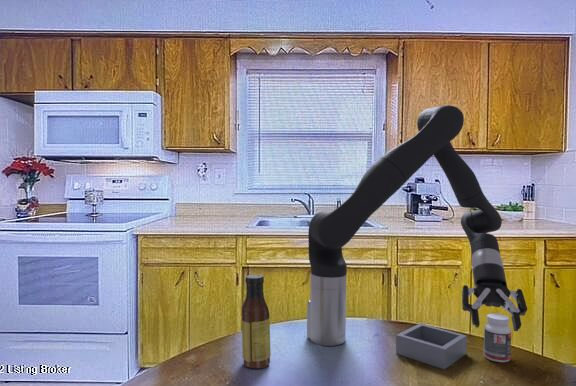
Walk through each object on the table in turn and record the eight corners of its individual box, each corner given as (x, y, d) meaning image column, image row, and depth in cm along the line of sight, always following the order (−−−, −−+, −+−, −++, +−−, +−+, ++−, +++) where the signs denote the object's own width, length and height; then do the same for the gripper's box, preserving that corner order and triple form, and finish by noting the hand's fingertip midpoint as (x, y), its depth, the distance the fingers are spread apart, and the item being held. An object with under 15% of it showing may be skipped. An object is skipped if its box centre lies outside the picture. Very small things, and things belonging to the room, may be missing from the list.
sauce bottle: (274, 360, 98) (275, 274, 97) (264, 372, 92) (265, 280, 91) (248, 356, 100) (249, 271, 99) (236, 367, 94) (237, 277, 93)
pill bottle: (513, 364, 97) (515, 321, 97) (487, 362, 98) (488, 319, 98) (506, 354, 103) (507, 313, 103) (481, 352, 104) (482, 311, 104)
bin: (395, 353, 102) (396, 334, 102) (419, 340, 111) (420, 323, 111) (444, 369, 94) (445, 349, 94) (466, 354, 103) (466, 335, 103)
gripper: (460, 260, 111) (466, 317, 100) (521, 263, 108) (534, 323, 97) (457, 276, 116) (462, 332, 106) (514, 279, 113) (526, 338, 102)
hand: (496, 327), depth 101 cm, fingers open, 8 cm apart
